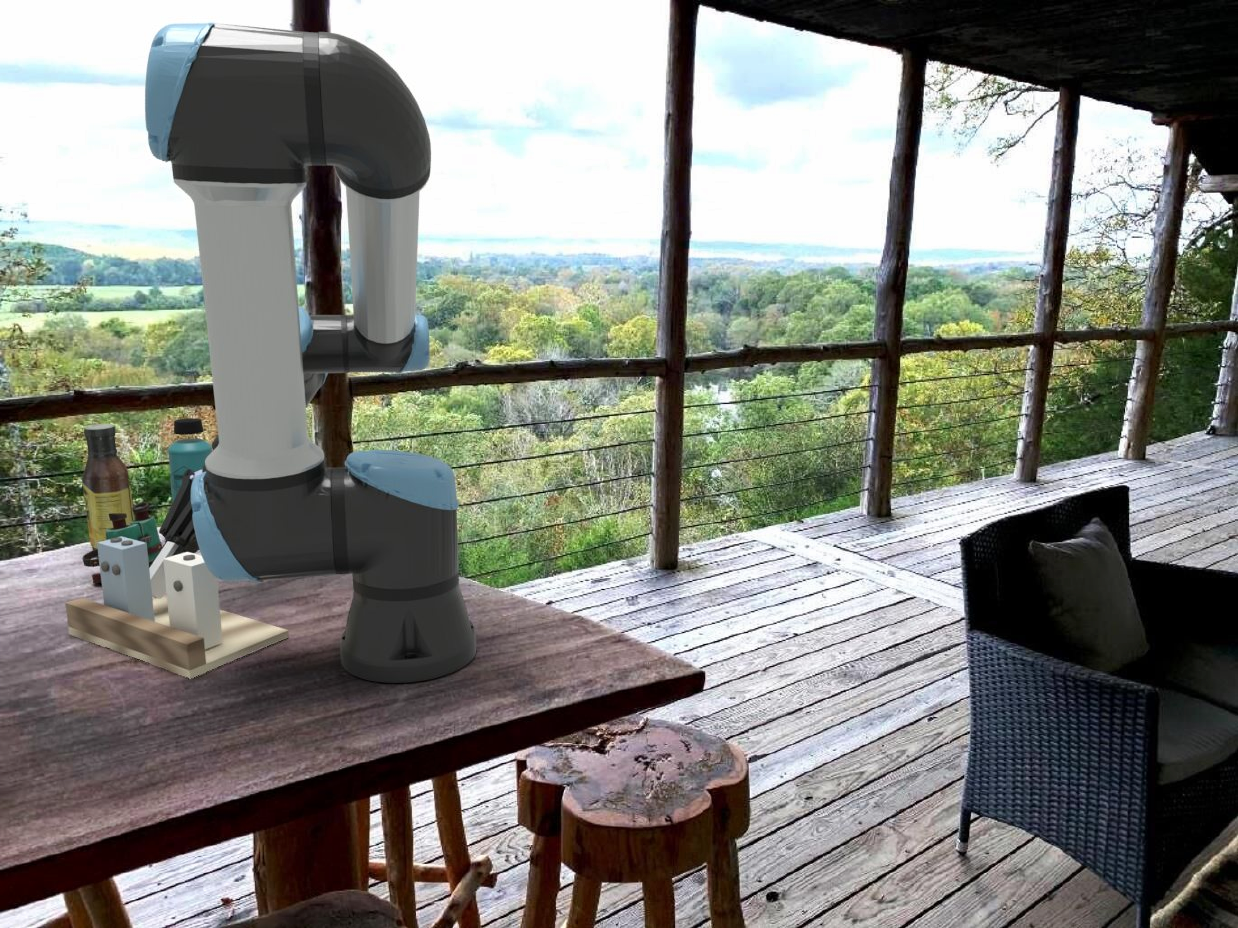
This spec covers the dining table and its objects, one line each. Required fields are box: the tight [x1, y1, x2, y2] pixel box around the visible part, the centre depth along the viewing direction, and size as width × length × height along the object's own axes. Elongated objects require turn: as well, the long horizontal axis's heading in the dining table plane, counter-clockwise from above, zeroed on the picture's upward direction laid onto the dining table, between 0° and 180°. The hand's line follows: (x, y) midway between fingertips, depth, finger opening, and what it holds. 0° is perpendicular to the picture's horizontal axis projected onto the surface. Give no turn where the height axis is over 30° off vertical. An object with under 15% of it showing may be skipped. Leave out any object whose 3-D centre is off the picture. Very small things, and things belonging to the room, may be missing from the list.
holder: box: [65, 594, 290, 680], centre depth 108 cm, size 23×13×4 cm, turn 60°
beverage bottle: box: [167, 417, 213, 504], centre depth 143 cm, size 6×7×20 cm
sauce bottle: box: [81, 423, 136, 558], centre depth 137 cm, size 7×6×20 cm
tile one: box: [163, 552, 223, 649], centre depth 103 cm, size 5×3×10 cm, turn 60°
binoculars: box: [82, 501, 163, 584], centre depth 127 cm, size 9×11×10 cm
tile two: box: [97, 536, 155, 622], centre depth 108 cm, size 5×3×10 cm, turn 60°
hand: (148, 593), depth 111 cm, fingers closed
